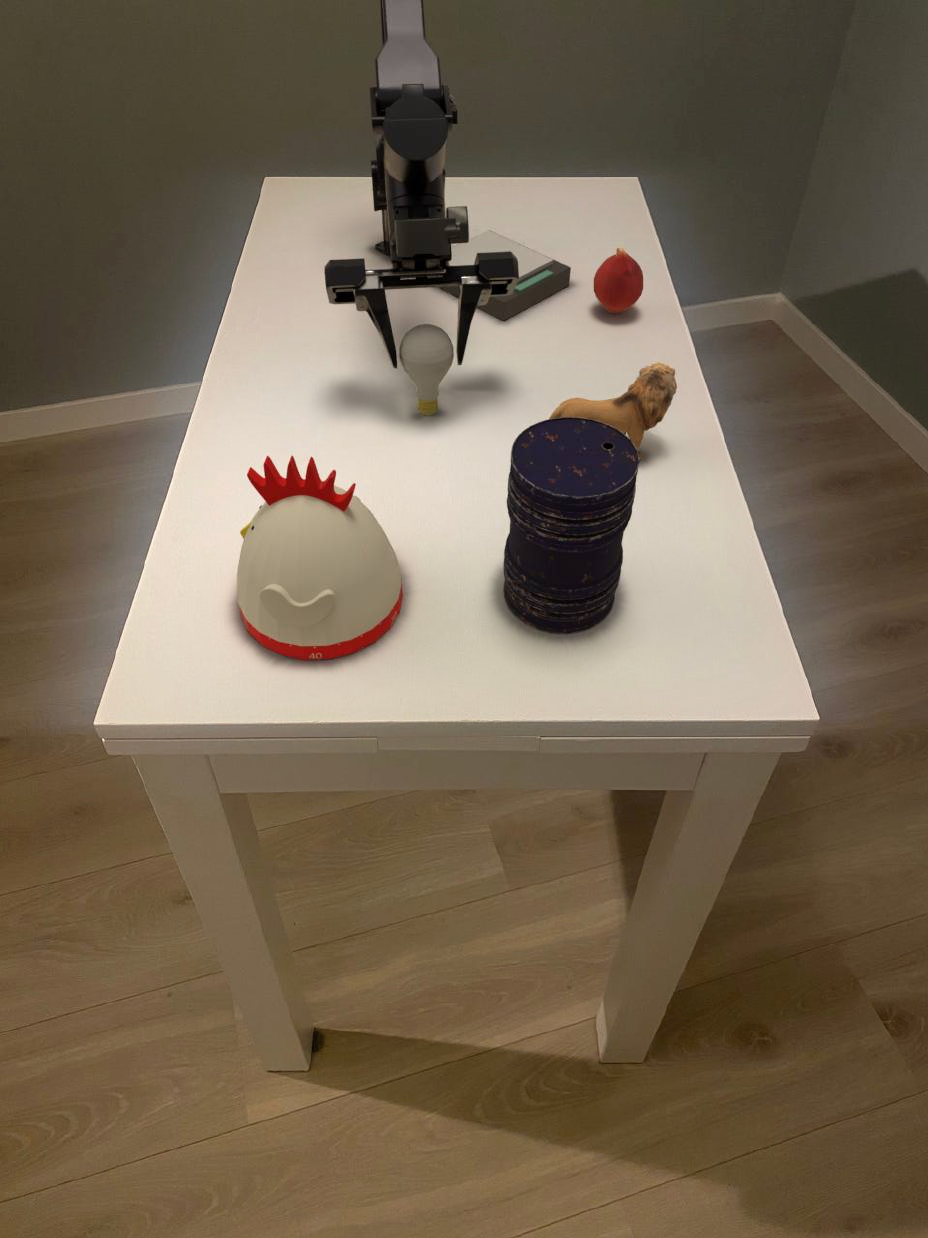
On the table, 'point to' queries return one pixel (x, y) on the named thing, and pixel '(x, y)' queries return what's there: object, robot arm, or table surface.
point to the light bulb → (426, 362)
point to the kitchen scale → (534, 274)
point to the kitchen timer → (315, 567)
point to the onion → (618, 282)
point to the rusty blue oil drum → (567, 522)
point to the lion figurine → (629, 404)
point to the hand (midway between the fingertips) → (427, 365)
